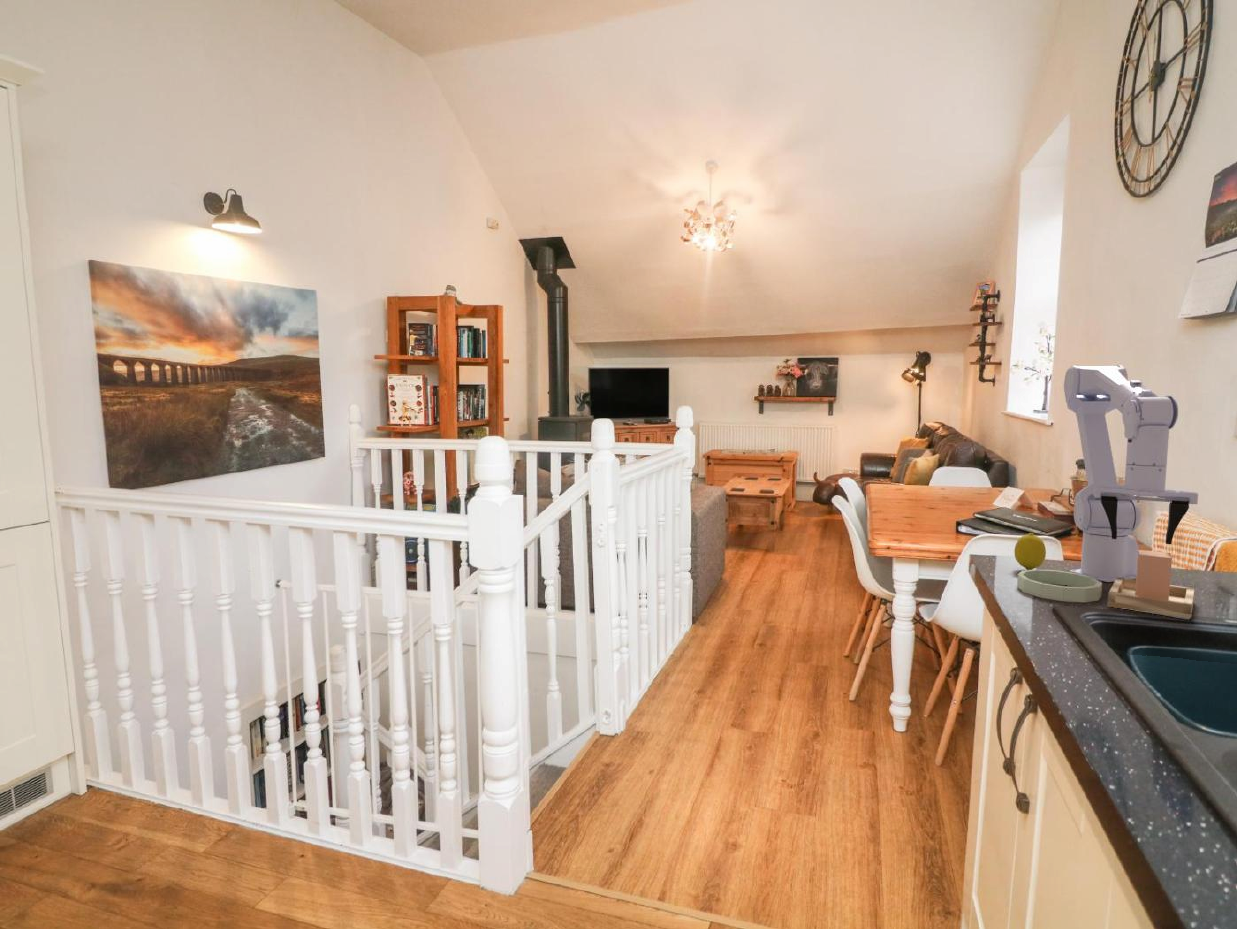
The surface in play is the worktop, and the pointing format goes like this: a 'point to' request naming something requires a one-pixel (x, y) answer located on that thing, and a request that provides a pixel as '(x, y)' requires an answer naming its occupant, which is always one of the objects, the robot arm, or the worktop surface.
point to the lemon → (1030, 551)
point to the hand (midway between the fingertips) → (1140, 540)
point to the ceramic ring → (1079, 592)
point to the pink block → (1153, 574)
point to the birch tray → (1151, 599)
